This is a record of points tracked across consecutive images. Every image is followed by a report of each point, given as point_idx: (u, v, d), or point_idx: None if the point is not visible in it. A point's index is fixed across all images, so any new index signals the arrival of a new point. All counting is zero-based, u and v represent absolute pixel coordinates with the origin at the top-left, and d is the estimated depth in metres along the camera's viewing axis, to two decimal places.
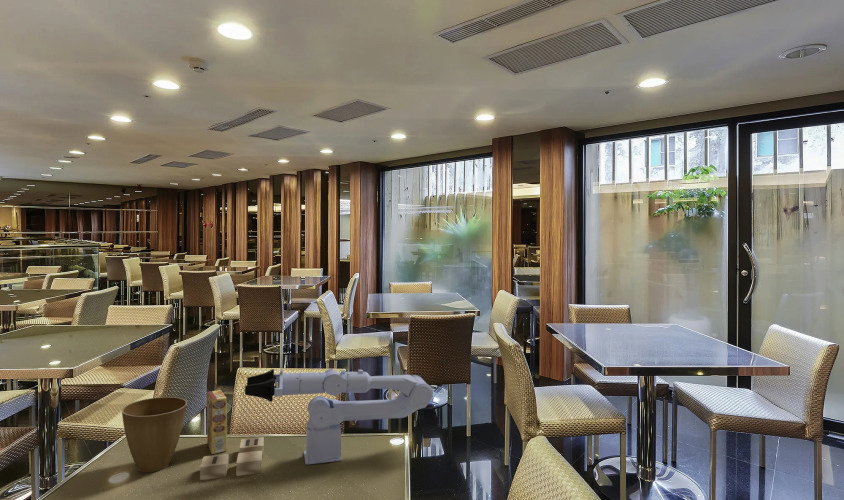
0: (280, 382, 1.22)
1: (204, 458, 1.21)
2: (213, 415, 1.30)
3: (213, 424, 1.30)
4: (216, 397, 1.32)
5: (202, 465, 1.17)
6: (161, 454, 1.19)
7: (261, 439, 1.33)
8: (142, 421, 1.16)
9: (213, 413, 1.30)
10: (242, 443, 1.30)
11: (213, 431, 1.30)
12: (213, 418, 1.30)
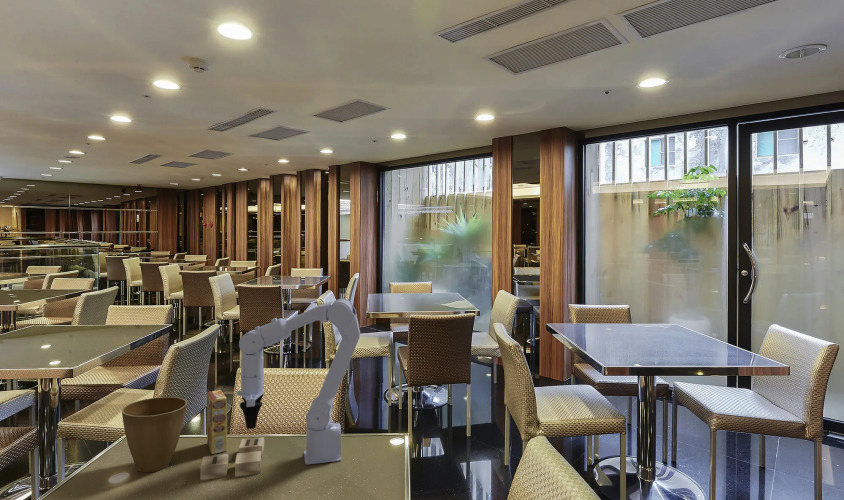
0: (244, 398, 1.23)
1: (204, 458, 1.21)
2: (213, 415, 1.30)
3: (213, 424, 1.30)
4: (216, 397, 1.32)
5: (202, 465, 1.17)
6: (161, 454, 1.19)
7: (261, 439, 1.33)
8: (142, 421, 1.16)
9: (213, 413, 1.30)
10: (242, 443, 1.30)
11: (213, 431, 1.30)
12: (213, 418, 1.30)
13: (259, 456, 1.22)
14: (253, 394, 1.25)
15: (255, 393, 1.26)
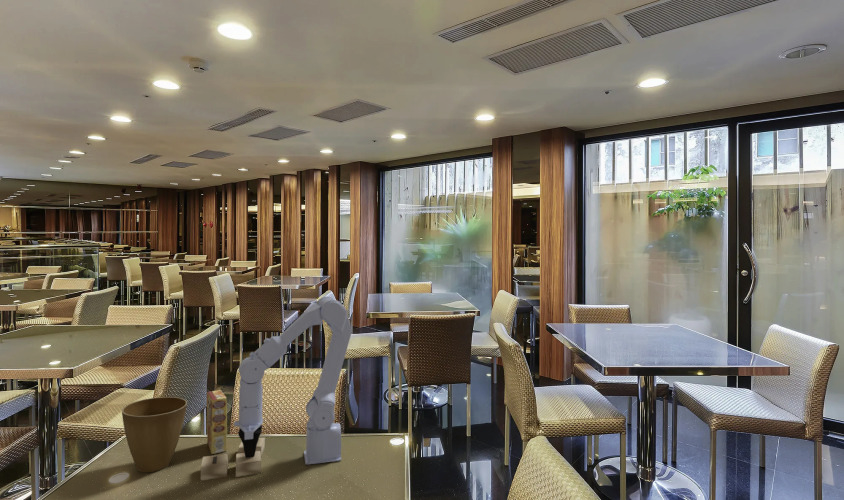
0: (242, 429, 1.18)
1: (204, 458, 1.21)
2: (213, 415, 1.30)
3: (213, 424, 1.30)
4: (216, 397, 1.32)
5: (202, 465, 1.17)
6: (161, 454, 1.19)
7: (262, 439, 1.33)
8: (142, 421, 1.16)
9: (213, 413, 1.30)
10: (242, 443, 1.30)
11: (213, 431, 1.30)
12: (213, 418, 1.30)
13: (259, 456, 1.22)
14: (251, 425, 1.20)
15: (254, 424, 1.20)
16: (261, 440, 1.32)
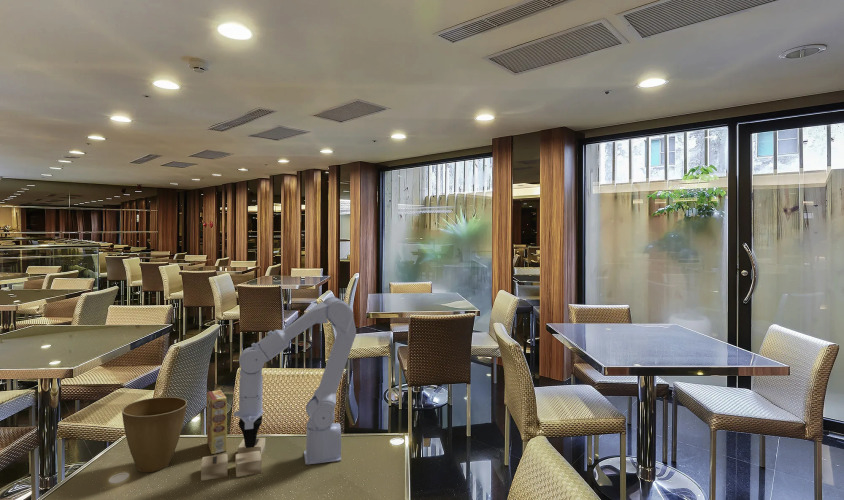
0: (242, 419, 1.18)
1: (203, 458, 1.20)
2: (213, 415, 1.30)
3: (213, 424, 1.30)
4: (216, 397, 1.32)
5: (203, 465, 1.17)
6: (161, 454, 1.19)
7: (262, 440, 1.33)
8: (142, 421, 1.16)
9: (213, 413, 1.30)
10: (242, 442, 1.30)
11: (213, 431, 1.30)
12: (213, 418, 1.30)
13: (259, 455, 1.23)
14: (252, 415, 1.20)
15: (254, 414, 1.20)
16: (261, 440, 1.32)
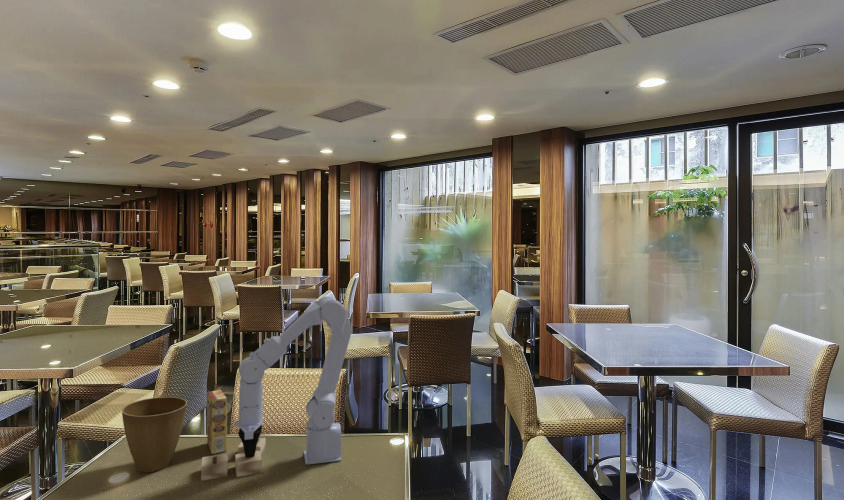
0: (242, 429, 1.18)
1: (203, 459, 1.20)
2: (213, 415, 1.30)
3: (213, 424, 1.30)
4: (216, 397, 1.32)
5: (203, 465, 1.17)
6: (161, 454, 1.19)
7: (262, 440, 1.33)
8: (142, 421, 1.16)
9: (213, 413, 1.30)
10: None
11: (213, 431, 1.30)
12: (213, 418, 1.30)
13: (259, 455, 1.23)
14: (251, 425, 1.20)
15: (254, 424, 1.20)
16: (261, 440, 1.32)
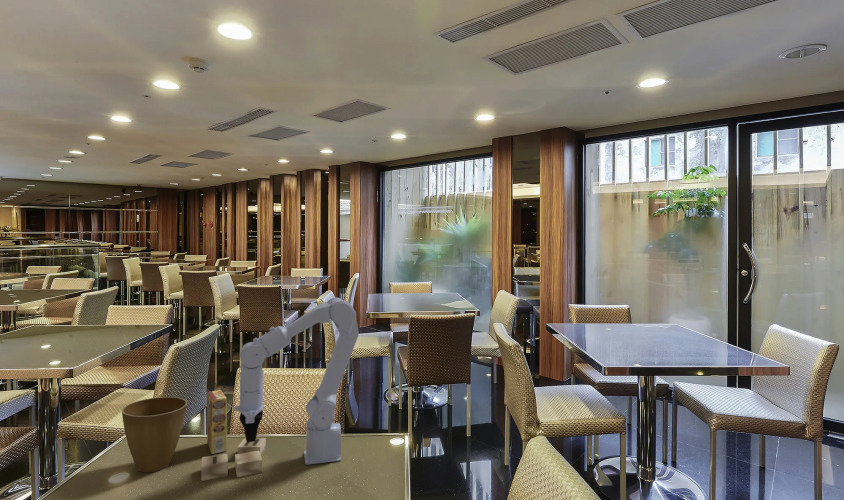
0: (243, 414, 1.18)
1: (203, 459, 1.20)
2: (213, 415, 1.30)
3: (213, 424, 1.30)
4: (216, 397, 1.32)
5: (203, 465, 1.17)
6: (161, 454, 1.19)
7: (262, 440, 1.32)
8: (142, 421, 1.16)
9: (213, 413, 1.30)
10: (242, 442, 1.31)
11: (213, 431, 1.30)
12: (213, 418, 1.30)
13: (259, 455, 1.23)
14: (252, 410, 1.20)
15: (255, 408, 1.20)
16: (261, 440, 1.32)
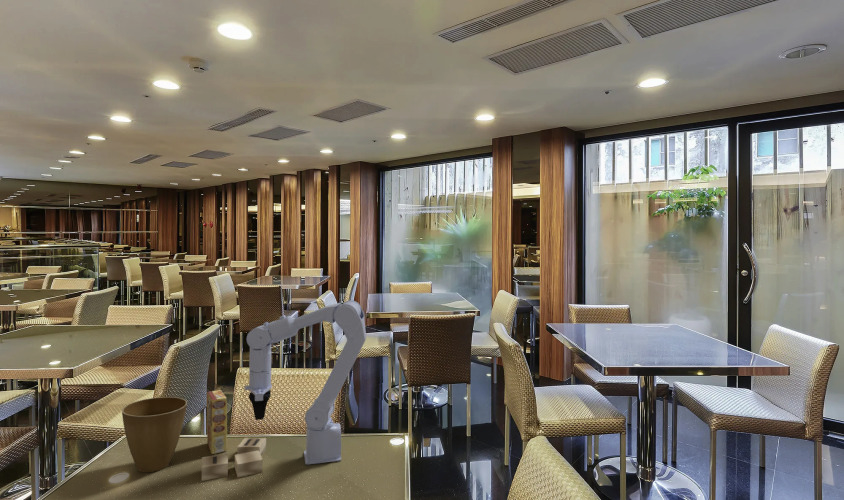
0: (252, 392, 1.25)
1: (203, 459, 1.20)
2: (213, 415, 1.30)
3: (213, 424, 1.30)
4: (216, 397, 1.32)
5: (203, 465, 1.17)
6: (161, 454, 1.19)
7: (262, 440, 1.32)
8: (142, 421, 1.16)
9: (213, 413, 1.30)
10: (242, 442, 1.31)
11: (213, 431, 1.30)
12: (213, 418, 1.30)
13: (259, 455, 1.23)
14: (261, 389, 1.27)
15: (263, 388, 1.27)
16: (261, 440, 1.32)
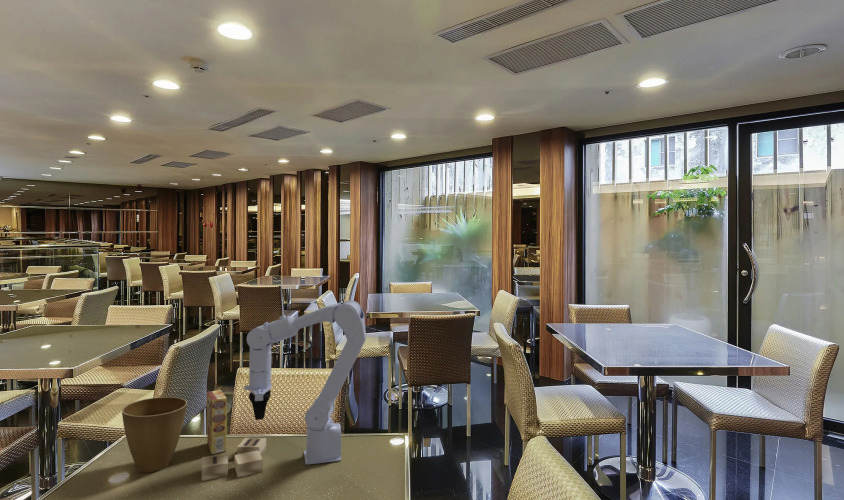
0: (252, 392, 1.25)
1: (203, 459, 1.20)
2: (213, 415, 1.30)
3: (213, 424, 1.30)
4: (216, 397, 1.32)
5: (203, 465, 1.17)
6: (161, 454, 1.19)
7: (262, 440, 1.32)
8: (142, 421, 1.16)
9: (213, 413, 1.30)
10: (243, 442, 1.31)
11: (213, 431, 1.30)
12: (213, 418, 1.30)
13: (259, 455, 1.23)
14: (261, 389, 1.27)
15: (263, 388, 1.27)
16: (261, 441, 1.32)
